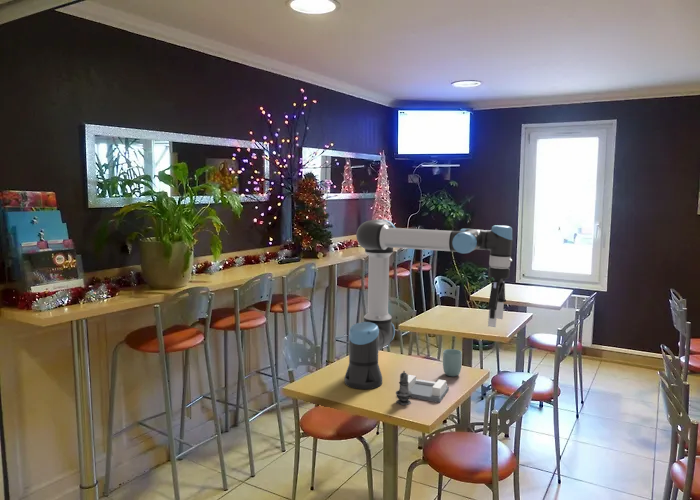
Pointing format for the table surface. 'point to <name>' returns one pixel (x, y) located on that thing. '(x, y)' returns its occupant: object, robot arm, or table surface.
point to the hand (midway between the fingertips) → (495, 322)
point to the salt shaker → (403, 390)
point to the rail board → (427, 389)
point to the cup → (452, 362)
